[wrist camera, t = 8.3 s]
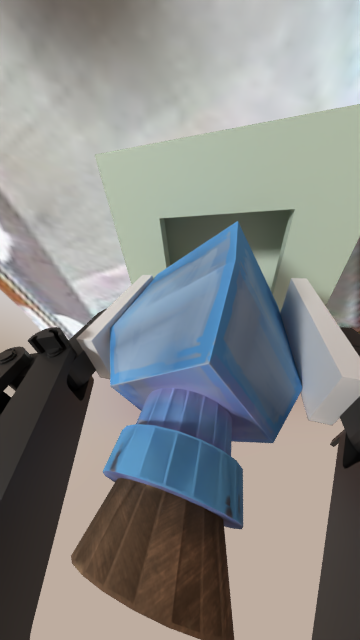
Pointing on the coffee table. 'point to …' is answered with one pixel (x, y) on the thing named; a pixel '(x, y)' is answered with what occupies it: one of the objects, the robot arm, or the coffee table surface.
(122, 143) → the coffee table surface
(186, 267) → the perfume bottle
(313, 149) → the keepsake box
